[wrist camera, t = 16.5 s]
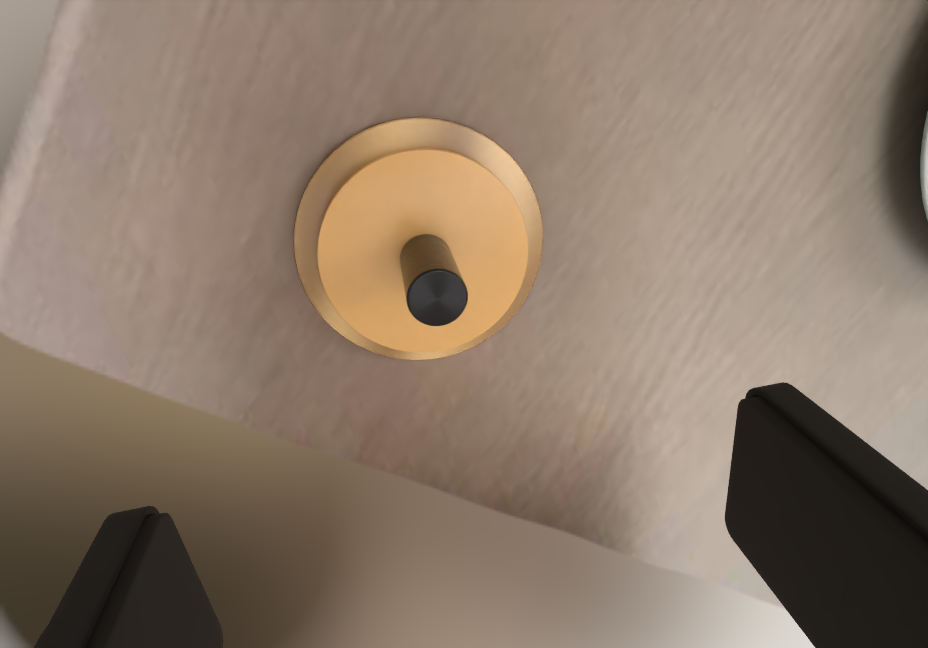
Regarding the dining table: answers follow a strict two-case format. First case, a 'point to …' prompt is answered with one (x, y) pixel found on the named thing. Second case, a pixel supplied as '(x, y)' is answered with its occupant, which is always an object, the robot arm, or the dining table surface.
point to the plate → (924, 167)
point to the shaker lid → (422, 250)
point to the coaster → (382, 143)
